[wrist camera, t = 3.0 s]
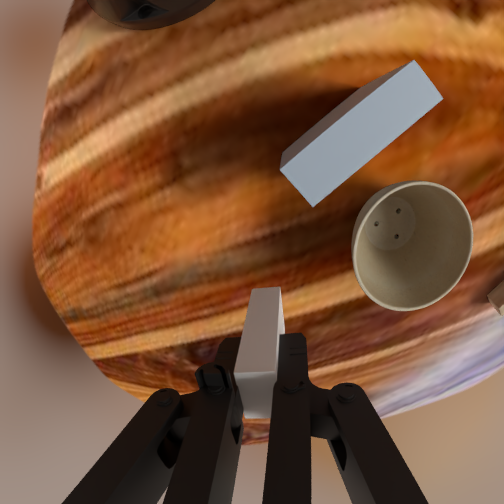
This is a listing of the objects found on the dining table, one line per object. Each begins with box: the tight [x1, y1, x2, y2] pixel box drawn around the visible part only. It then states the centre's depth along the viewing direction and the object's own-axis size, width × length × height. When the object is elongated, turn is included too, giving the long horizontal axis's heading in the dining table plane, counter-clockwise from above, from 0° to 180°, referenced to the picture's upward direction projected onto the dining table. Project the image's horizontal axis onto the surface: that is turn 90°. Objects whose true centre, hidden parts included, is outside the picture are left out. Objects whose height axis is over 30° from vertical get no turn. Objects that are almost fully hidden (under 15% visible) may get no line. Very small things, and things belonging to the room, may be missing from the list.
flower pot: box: [352, 181, 473, 311], centre depth 23 cm, size 10×10×7 cm
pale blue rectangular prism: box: [280, 60, 443, 207], centre depth 19 cm, size 2×9×12 cm, turn 133°
